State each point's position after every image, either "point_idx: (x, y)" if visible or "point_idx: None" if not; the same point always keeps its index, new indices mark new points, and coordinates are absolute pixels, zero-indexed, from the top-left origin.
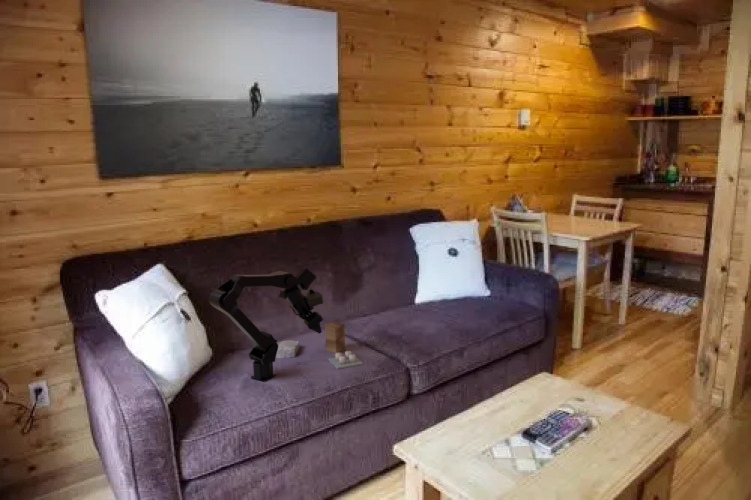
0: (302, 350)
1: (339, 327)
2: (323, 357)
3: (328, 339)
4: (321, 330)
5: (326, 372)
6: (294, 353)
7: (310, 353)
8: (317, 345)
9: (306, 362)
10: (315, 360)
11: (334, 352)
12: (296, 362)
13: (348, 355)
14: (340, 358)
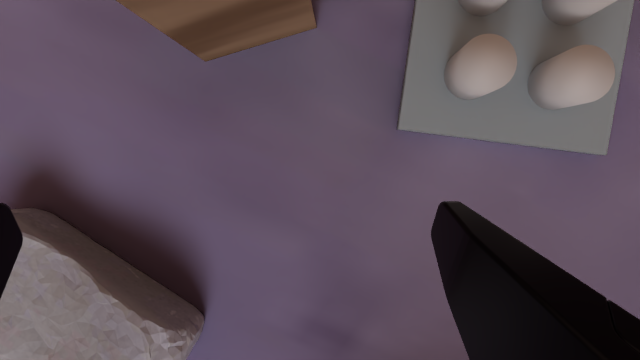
0: (109, 210)
1: None
2: (325, 139)
3: (204, 17)
4: (486, 219)
5: (601, 246)
6: (193, 324)
7: (197, 186)
8: (70, 70)
9: (344, 284)
10: (346, 214)
11: (299, 29)
12: (304, 342)
13: None
14: (597, 98)
